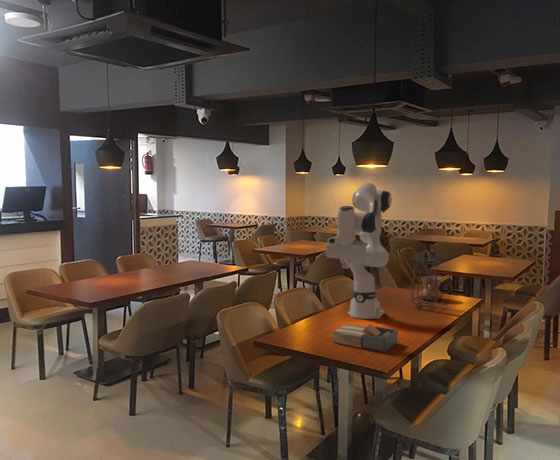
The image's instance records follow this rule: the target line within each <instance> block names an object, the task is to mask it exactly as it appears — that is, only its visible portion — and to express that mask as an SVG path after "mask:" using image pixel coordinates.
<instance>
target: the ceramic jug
mask: <svg viewBox="0 0 560 460" xmlns="http://www.w3.org/2000/svg"><path fill="white" fill-rule="evenodd" d="M420 279H421V280H422V277H420ZM441 283H442V277H439V276H437V285H436V300H437V287H438V301H439V300H442V299H443V292H441V291H440V289H439V288H440V285H441ZM431 291H432V299H435V276H432V275H431V289H430V276H429V275H428V298H429V299H428V301H430V302H431V300H430V299H431ZM421 292H422V298H427V275H426V276H423V291H422V290H421V291H419V293H418V297H420V298H421ZM424 300H425V301H427V299H424ZM436 300H432V302H434V301H436Z"/></svg>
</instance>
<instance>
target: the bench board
mask: <svg viewBox="0 0 560 460" xmlns="http://www.w3.org/2000/svg"><path fill="white" fill-rule="evenodd" d="M365 327H366V326H364V325H363V326H362V325H357V324H352V323H346V324H344V325H342V326H340V327H339V328H337V329H335V330H333V331H332V343H335V344H340V345H345V346H350V347H355V348H361V349H362V334H363V335H365V334H364V333H363V332H362V331H363V330H364V329H365Z"/></svg>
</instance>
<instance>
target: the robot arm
mask: <svg viewBox="0 0 560 460" xmlns="http://www.w3.org/2000/svg"><path fill="white" fill-rule="evenodd" d="M351 202H352V205H353V206H351V205H345V206H343V205H342V206H340V207H339V208H338V210H337V216H336V217H337V218H336V226H337V232H336V235H335V236H333V237H329V238H327V240H326V241H327V244H326V247H325V256H326V258H330V259H338V260H339V262H340V263H341V268H342V269H348V270H349V268H350V270H351V273H352V276H353V291H352V292H353V293H352V297H353V298H351V300H350V305H349V307H350V308H349V311H348V312H347V314H348V315H349V316H350V317H352V318H355V319H362V320H363V319H364V320H372V319H374V320H375V319H381V318H382V316H383V315H384V313H385V311H384V310H383V309H380V308H381V303H380V301H379V300H378V299H377V298H376V295H377V294H378V291H377V290H375V284H376V283H375V280H376V279H375V277H374V276H373V274H372V273H370V272H369V271H367V270H366V268H365V267H370V268H372V267H373V268H379V267H385V266H386V265H387V264H388V262H389V259H390V256H389V252H388V250H387V249H386V248H385V247H384V246H383V245H382V243H381V241H380V236H381V235H380V234H381V227H382V223H383V222H382V221H383V220H382V219H383V218H382V217H383V215H382V214H384V213H385V212H386V211H387V210H388V209H390V208H391V205H392V202H393V198H392V194H391V193H390V191H387V190H378V189H377V186H376V185H375V184H374V183H371V182H365V183H363V184H362V185H361V186H360V187H359V188H357V190H356V191H355V192H354V193H353V195H352V201H351ZM355 209H357V210H358V211H360V212H356V210H355ZM357 232H358V233H359V239H360V240H356V233H357Z"/></svg>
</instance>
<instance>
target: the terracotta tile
mask: <svg viewBox="0 0 560 460" xmlns="http://www.w3.org/2000/svg"><path fill="white" fill-rule="evenodd" d="M364 327H365V329H364V330H363V331H362V332H363V333H364V334H365V335H369V336H374V337H378V336H379V335H380V333H381V332H380V331H379V330H377V329H376V328H375V326H374V325H373V324H371V323H370V324H368V325H366V326H364Z"/></svg>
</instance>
